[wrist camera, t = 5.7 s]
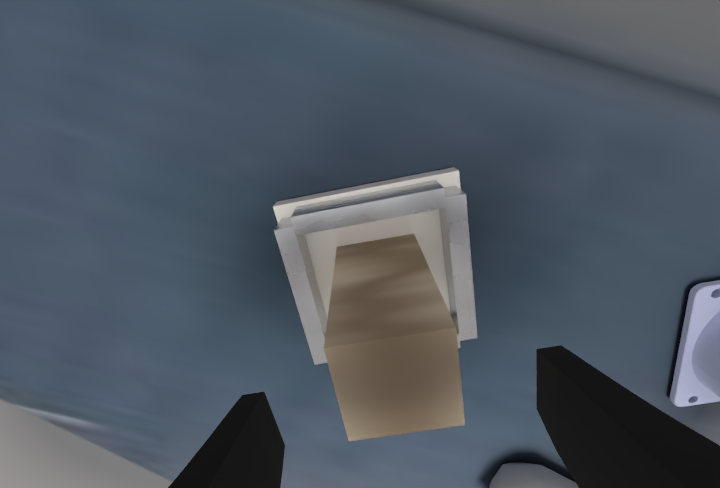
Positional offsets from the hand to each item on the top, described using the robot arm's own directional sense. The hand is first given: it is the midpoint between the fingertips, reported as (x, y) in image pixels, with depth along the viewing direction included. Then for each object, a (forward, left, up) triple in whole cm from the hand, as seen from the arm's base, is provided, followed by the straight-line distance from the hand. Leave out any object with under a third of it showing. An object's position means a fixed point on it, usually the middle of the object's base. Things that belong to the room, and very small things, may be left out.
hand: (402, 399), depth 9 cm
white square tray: (0, 0, -8) cm, 8 cm away
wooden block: (0, 0, -8) cm, 8 cm away
